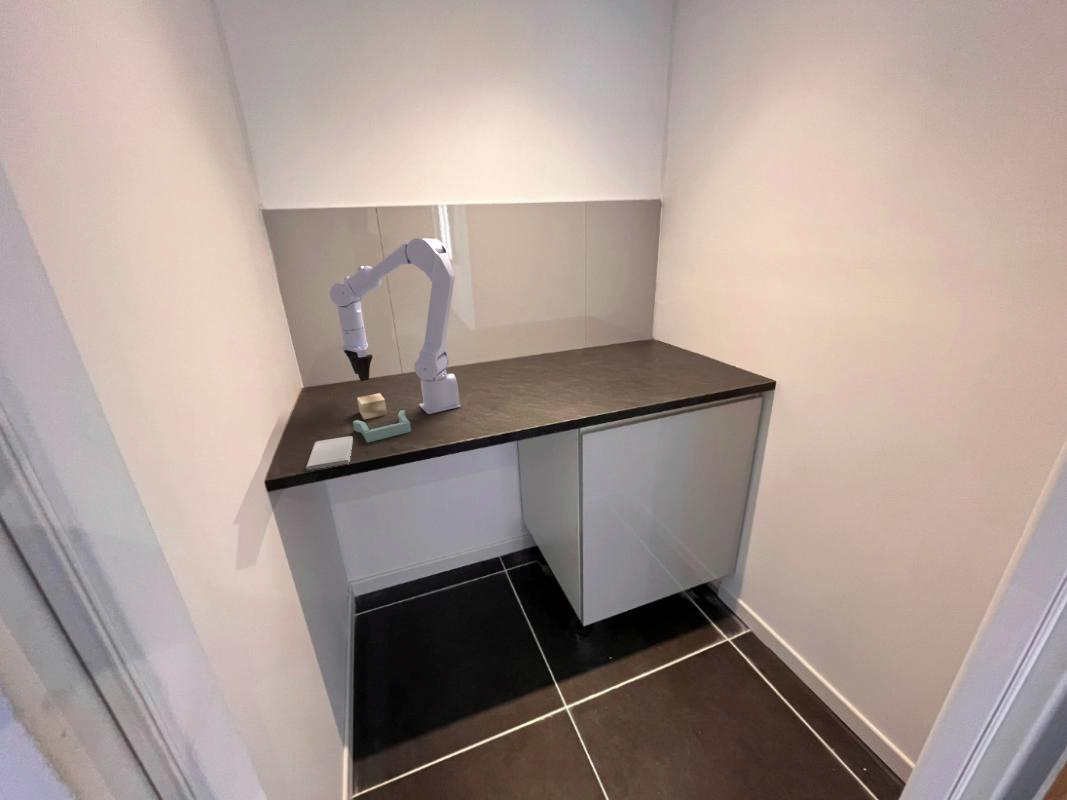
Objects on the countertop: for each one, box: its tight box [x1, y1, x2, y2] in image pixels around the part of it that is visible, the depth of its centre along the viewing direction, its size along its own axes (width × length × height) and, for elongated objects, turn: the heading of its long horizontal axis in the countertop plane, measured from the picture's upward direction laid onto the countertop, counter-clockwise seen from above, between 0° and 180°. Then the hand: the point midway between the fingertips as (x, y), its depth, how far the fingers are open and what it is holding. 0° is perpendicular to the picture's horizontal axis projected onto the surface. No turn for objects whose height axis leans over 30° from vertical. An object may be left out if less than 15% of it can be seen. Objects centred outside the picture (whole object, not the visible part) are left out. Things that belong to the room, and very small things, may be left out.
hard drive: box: [305, 435, 354, 470], centre depth 92 cm, size 2×8×12 cm
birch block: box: [356, 392, 388, 420], centre depth 113 cm, size 6×6×4 cm
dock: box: [352, 409, 412, 443], centre depth 103 cm, size 13×9×2 cm
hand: (361, 376), depth 117 cm, fingers open, 7 cm apart
